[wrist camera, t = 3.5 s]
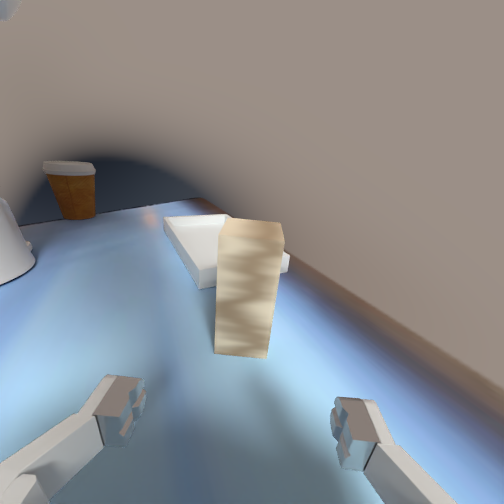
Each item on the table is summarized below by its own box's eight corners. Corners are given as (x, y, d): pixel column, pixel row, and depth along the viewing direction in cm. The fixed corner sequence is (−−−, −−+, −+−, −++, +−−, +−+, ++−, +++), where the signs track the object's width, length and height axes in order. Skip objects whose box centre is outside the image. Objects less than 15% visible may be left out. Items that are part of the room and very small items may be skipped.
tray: (163, 230, 52) (163, 217, 51) (225, 225, 59) (226, 214, 58) (199, 289, 32) (199, 270, 31) (287, 271, 39) (289, 255, 38)
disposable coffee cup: (76, 209, 61) (65, 160, 56) (111, 213, 60) (104, 164, 55) (43, 219, 52) (27, 161, 47) (84, 223, 51) (72, 166, 47)
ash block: (214, 353, 22) (218, 234, 18) (222, 319, 27) (227, 217, 22) (266, 358, 22) (284, 241, 17) (265, 323, 27) (280, 222, 22)
